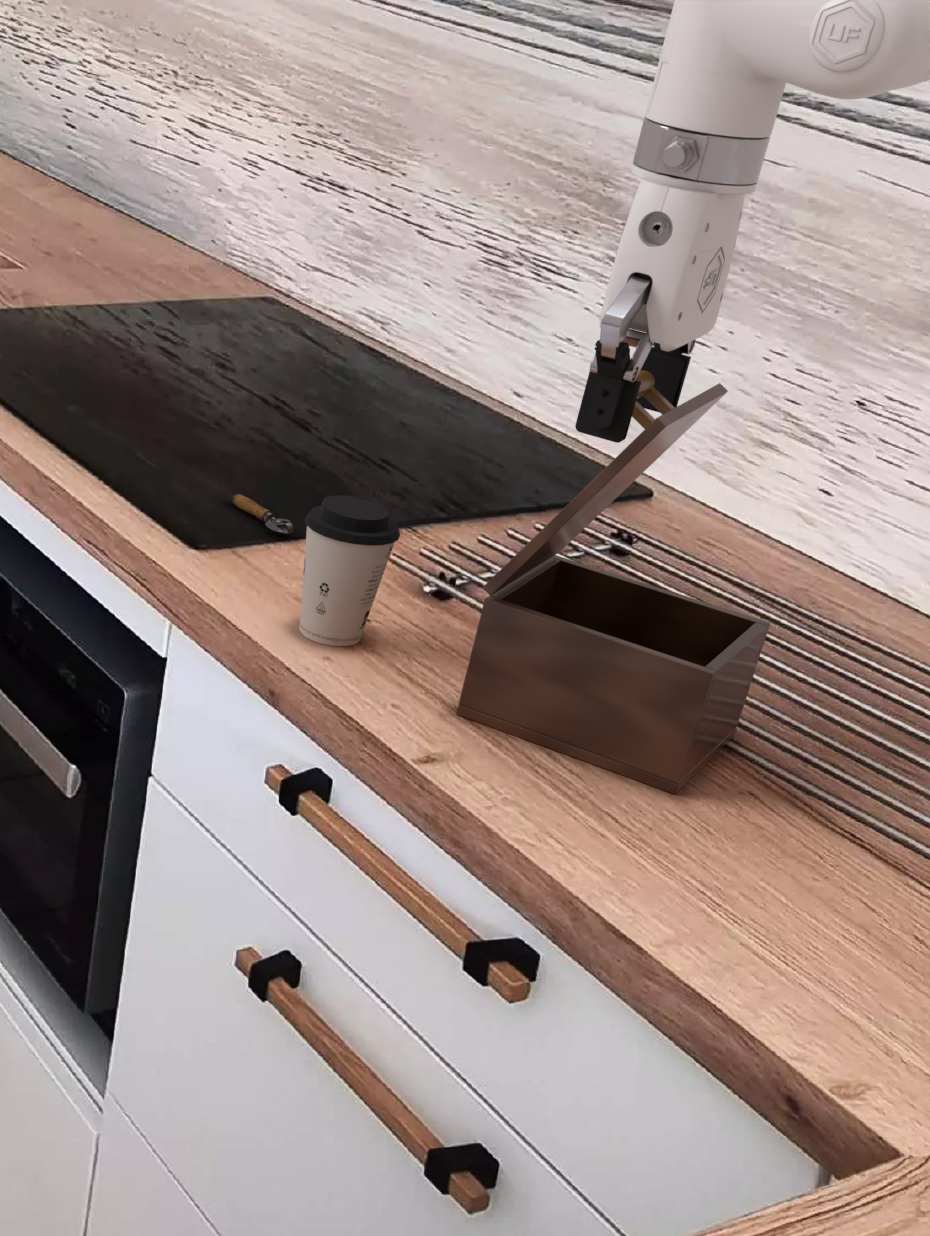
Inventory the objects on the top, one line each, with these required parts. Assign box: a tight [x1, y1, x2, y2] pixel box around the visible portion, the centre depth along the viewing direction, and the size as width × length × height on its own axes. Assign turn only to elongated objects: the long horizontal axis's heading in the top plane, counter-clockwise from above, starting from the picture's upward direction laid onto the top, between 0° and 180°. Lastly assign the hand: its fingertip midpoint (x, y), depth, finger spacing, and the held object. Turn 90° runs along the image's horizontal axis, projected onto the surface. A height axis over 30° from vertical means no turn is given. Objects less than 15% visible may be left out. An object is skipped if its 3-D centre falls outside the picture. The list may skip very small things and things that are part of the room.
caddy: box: [456, 554, 771, 795], centre depth 137 cm, size 16×13×9 cm
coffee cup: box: [298, 495, 401, 647], centre depth 147 cm, size 7×7×10 cm
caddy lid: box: [482, 370, 729, 596], centre depth 134 cm, size 16×13×5 cm
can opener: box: [231, 493, 294, 535], centre depth 169 cm, size 9×2×1 cm, turn 18°
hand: (625, 422), depth 131 cm, fingers open, 9 cm apart
